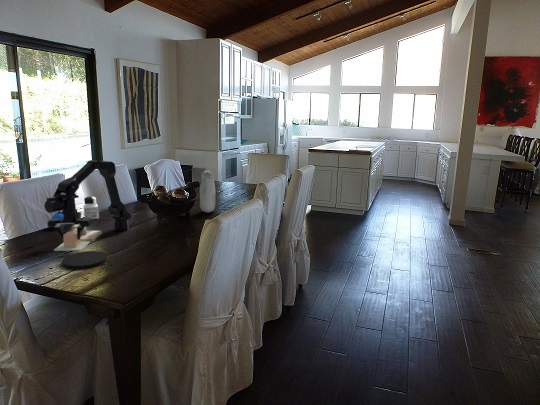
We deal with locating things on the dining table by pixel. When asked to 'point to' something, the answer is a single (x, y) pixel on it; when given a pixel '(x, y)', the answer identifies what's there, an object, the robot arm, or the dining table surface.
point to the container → (91, 208)
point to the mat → (78, 248)
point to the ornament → (58, 216)
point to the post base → (89, 235)
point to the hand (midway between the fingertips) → (72, 239)
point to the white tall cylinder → (207, 192)
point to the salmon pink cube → (71, 239)
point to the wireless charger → (84, 260)
